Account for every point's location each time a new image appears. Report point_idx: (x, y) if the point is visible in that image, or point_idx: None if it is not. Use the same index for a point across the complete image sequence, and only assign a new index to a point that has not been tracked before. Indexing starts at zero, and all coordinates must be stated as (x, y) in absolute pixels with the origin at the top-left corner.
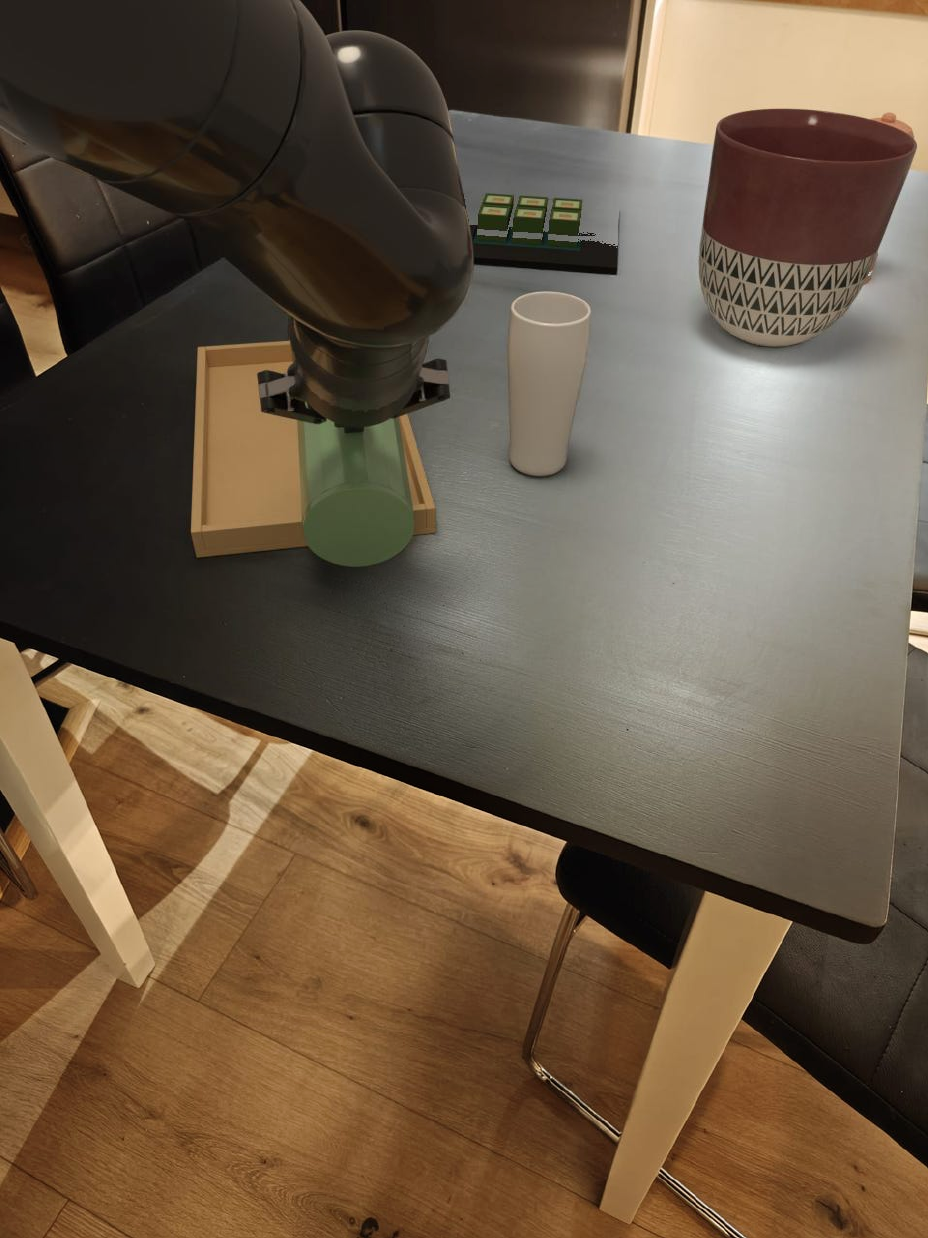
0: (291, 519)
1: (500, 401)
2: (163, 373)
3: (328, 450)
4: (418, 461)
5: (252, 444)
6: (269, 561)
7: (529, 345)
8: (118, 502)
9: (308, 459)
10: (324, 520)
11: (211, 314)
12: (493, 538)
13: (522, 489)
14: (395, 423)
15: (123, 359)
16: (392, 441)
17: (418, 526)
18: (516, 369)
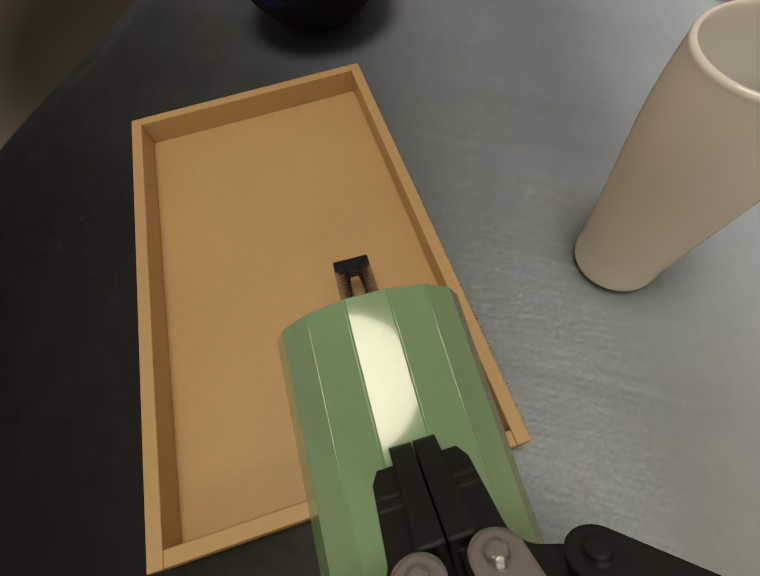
0: (307, 509)
1: (522, 145)
2: (103, 158)
3: (376, 563)
4: (471, 320)
5: (224, 285)
6: (285, 559)
7: (742, 151)
8: (54, 436)
9: (329, 547)
10: None
11: (152, 52)
12: (609, 446)
13: (611, 320)
14: (478, 369)
15: (55, 141)
16: (497, 454)
17: None
18: (670, 183)
